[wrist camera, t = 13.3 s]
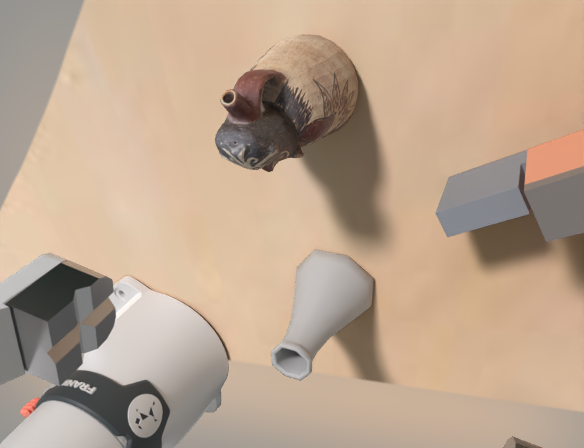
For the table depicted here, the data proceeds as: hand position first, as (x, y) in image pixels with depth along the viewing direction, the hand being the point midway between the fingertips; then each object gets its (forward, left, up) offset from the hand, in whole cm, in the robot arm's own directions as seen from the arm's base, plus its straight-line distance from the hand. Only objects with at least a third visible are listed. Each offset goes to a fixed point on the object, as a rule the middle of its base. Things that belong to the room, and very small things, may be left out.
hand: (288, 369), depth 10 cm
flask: (-17, -13, -29) cm, 36 cm away
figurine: (-10, +3, -28) cm, 30 cm away
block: (+4, -8, -26) cm, 28 cm away
